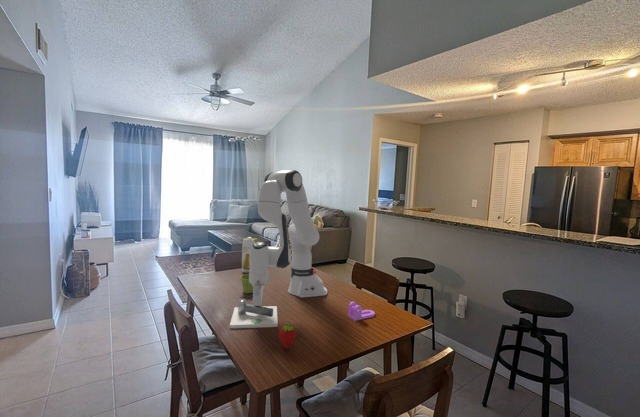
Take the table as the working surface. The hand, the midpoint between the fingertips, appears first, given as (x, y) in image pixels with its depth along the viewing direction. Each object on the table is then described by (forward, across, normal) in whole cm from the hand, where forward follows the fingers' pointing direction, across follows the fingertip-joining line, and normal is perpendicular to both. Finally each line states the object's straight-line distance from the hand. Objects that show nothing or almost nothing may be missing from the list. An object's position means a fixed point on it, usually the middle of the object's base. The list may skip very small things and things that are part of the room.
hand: (258, 306), depth 139 cm
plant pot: (+5, +30, +7) cm, 31 cm away
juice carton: (+5, +67, +10) cm, 68 cm away
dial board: (+4, -3, +1) cm, 5 cm away
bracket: (+4, -3, -50) cm, 50 cm away
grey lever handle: (+2, -4, +1) cm, 5 cm away
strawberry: (+4, -29, -13) cm, 32 cm away
